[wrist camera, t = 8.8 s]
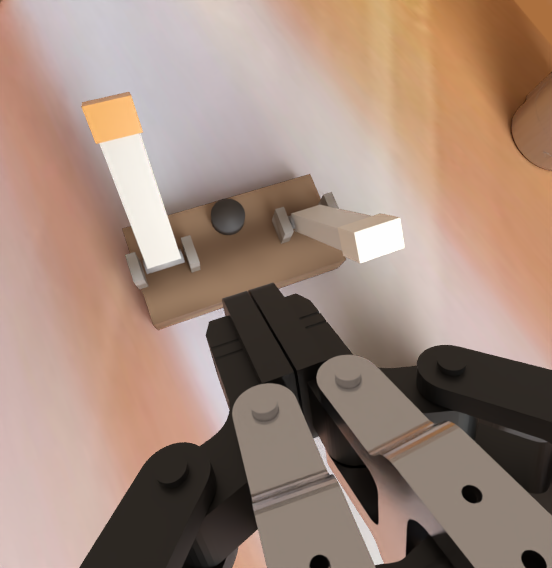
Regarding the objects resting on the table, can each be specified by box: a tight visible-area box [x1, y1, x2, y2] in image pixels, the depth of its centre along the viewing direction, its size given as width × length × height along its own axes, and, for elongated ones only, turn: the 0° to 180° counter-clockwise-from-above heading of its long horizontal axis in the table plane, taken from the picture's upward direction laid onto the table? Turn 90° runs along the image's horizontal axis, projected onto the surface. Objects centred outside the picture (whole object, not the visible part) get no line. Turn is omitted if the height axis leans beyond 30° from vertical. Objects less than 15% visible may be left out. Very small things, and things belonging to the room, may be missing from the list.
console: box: [122, 174, 346, 330], centre depth 39 cm, size 9×18×6 cm, turn 111°
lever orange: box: [81, 92, 185, 274], centre depth 33 cm, size 2×3×13 cm
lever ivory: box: [288, 205, 405, 263], centre depth 33 cm, size 2×3×13 cm, turn 110°
